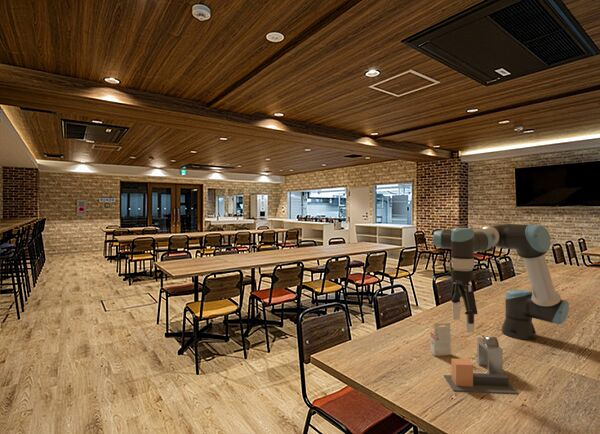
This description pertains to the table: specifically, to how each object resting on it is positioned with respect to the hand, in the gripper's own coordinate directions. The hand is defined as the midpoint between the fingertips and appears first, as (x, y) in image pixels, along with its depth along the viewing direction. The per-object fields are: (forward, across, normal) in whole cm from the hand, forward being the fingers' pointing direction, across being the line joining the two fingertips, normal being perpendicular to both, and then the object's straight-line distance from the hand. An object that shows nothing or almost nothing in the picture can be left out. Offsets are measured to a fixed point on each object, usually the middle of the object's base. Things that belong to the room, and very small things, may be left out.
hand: (462, 325), depth 125 cm
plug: (+22, 0, +6) cm, 23 cm away
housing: (+22, -12, +15) cm, 29 cm away
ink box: (+23, -26, 0) cm, 34 cm away
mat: (+22, 0, +6) cm, 23 cm away
